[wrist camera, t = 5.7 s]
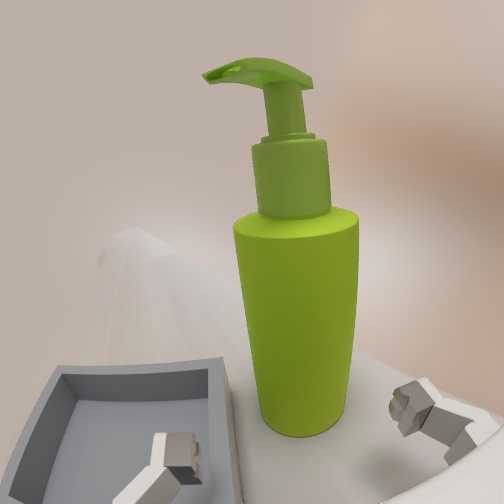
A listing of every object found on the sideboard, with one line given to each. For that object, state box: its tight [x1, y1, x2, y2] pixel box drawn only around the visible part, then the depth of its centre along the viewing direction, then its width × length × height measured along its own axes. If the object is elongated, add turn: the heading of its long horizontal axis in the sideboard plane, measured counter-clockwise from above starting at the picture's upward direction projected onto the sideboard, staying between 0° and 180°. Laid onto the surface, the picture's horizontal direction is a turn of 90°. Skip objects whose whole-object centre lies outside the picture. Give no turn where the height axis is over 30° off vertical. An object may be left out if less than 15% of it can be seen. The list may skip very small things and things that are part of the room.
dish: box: [0, 357, 244, 504], centre depth 12 cm, size 14×14×4 cm
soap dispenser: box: [202, 58, 359, 437], centre depth 14 cm, size 6×7×20 cm
